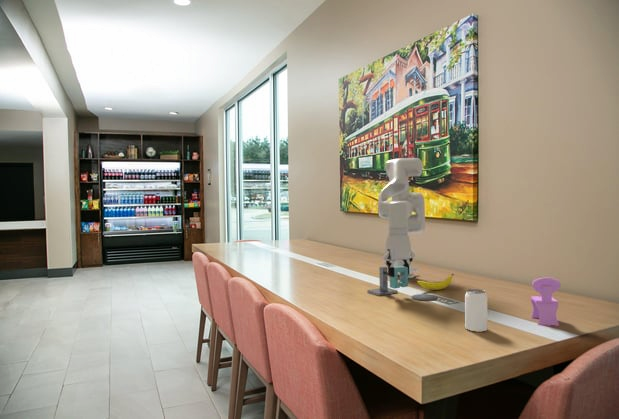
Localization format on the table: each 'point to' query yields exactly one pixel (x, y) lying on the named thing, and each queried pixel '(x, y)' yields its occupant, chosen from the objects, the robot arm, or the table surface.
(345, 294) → the table surface
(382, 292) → the stand
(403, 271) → the link
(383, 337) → the table surface
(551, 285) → the toy chair
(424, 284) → the banana
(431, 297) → the coaster
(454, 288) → the table surface
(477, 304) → the can
